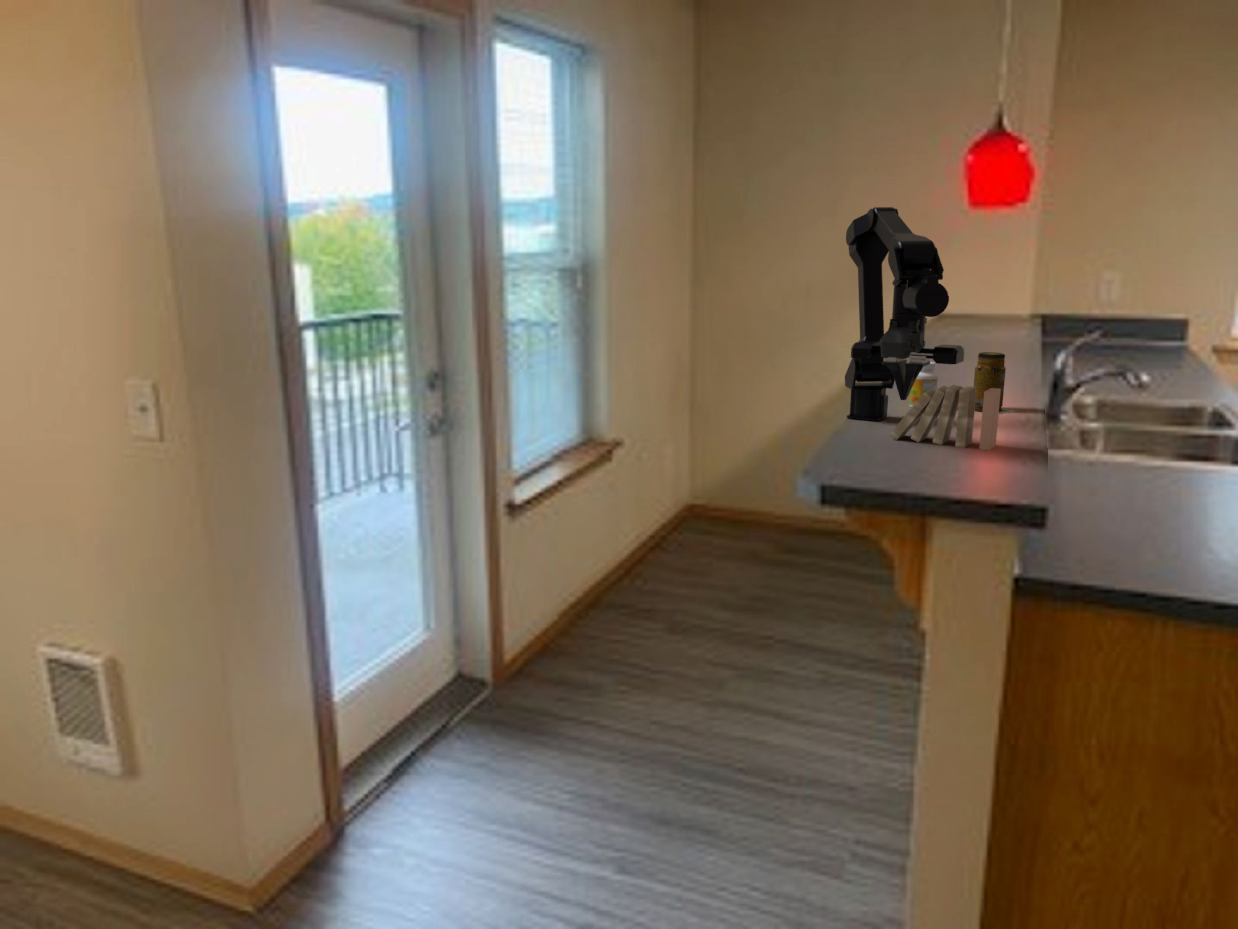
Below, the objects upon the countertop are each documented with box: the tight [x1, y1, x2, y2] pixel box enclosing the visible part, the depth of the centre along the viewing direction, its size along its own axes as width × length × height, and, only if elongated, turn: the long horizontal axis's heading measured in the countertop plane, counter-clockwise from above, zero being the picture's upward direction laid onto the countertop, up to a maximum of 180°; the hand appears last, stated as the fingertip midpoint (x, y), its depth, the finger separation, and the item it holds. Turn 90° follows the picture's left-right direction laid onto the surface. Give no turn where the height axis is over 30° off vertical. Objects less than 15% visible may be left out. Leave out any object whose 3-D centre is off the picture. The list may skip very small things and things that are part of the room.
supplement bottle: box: [908, 361, 938, 408], centre depth 198 cm, size 5×5×10 cm
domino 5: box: [979, 388, 1001, 451], centre depth 159 cm, size 2×5×10 cm, turn 146°
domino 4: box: [955, 385, 976, 449], centre depth 161 cm, size 2×5×10 cm, turn 146°
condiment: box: [972, 351, 1017, 414], centre depth 194 cm, size 7×8×12 cm
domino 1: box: [889, 389, 935, 441], centre depth 166 cm, size 2×5×10 cm
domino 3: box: [932, 384, 964, 446], centre depth 163 cm, size 2×5×10 cm, turn 146°
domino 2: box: [910, 385, 949, 444], centre depth 164 cm, size 2×5×10 cm, turn 147°
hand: (903, 399), depth 167 cm, fingers closed
